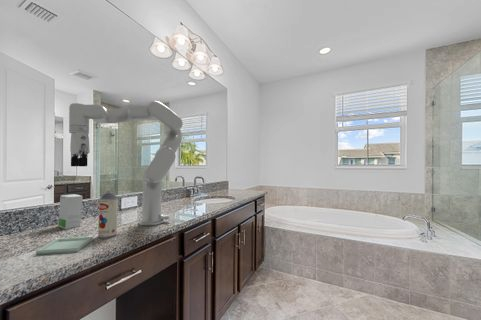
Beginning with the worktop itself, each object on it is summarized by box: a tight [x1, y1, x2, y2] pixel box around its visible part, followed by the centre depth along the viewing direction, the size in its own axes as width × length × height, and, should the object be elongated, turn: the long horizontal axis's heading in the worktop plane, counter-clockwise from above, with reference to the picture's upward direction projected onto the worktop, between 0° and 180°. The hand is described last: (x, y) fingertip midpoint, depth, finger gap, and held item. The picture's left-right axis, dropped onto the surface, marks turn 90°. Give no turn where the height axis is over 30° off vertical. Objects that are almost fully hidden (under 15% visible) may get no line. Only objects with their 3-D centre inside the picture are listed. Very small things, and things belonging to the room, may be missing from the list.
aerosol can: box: [97, 189, 119, 239], centre depth 92 cm, size 7×7×20 cm
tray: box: [35, 236, 94, 256], centre depth 79 cm, size 12×12×2 cm
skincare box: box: [57, 193, 83, 230], centre depth 105 cm, size 8×7×16 cm
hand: (78, 166), depth 99 cm, fingers open, 9 cm apart
